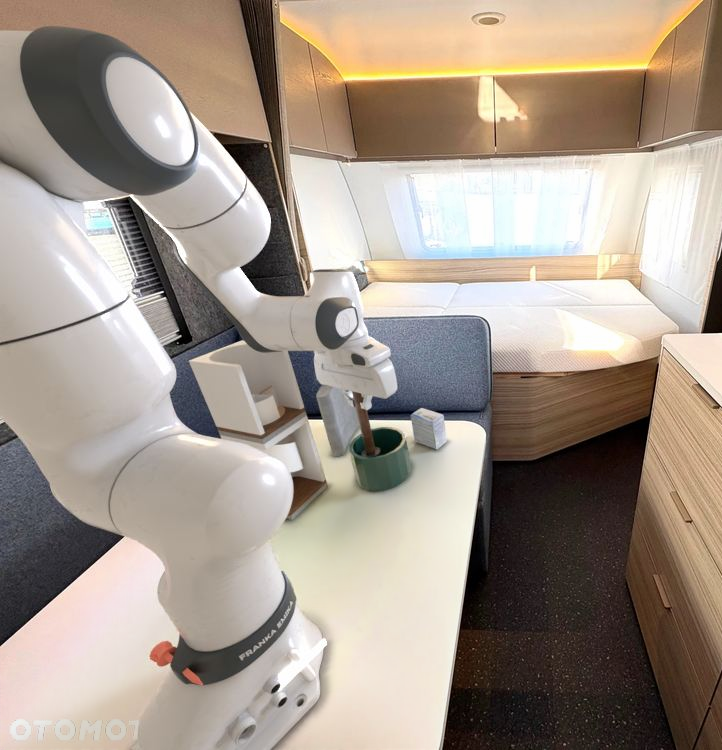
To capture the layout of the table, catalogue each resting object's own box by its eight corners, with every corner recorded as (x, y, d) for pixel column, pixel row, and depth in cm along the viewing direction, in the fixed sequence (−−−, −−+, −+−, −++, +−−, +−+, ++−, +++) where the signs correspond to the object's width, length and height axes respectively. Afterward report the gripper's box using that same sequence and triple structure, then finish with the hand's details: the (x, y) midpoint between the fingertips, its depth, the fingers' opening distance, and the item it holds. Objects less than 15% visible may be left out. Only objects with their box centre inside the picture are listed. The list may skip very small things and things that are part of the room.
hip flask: (342, 456, 99) (324, 387, 91) (327, 456, 99) (307, 388, 91) (361, 422, 114) (347, 360, 105) (348, 423, 114) (332, 361, 105)
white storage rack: (251, 508, 83) (188, 360, 68) (289, 477, 92) (241, 340, 77) (292, 520, 80) (235, 367, 65) (327, 486, 89) (285, 344, 74)
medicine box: (447, 442, 103) (444, 414, 99) (436, 450, 100) (432, 422, 96) (425, 433, 107) (421, 406, 103) (414, 442, 104) (409, 414, 100)
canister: (387, 497, 85) (380, 465, 81) (345, 482, 90) (336, 450, 86) (421, 464, 95) (416, 433, 91) (382, 452, 100) (376, 422, 96)
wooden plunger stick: (375, 476, 89) (356, 393, 80) (360, 471, 91) (341, 389, 82) (387, 465, 93) (371, 384, 84) (373, 461, 95) (356, 381, 86)
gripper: (300, 347, 81) (316, 404, 87) (374, 360, 72) (386, 423, 78) (324, 337, 86) (337, 392, 92) (396, 349, 77) (406, 409, 83)
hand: (360, 407), depth 85 cm, fingers closed on wooden plunger stick, 2 cm apart
